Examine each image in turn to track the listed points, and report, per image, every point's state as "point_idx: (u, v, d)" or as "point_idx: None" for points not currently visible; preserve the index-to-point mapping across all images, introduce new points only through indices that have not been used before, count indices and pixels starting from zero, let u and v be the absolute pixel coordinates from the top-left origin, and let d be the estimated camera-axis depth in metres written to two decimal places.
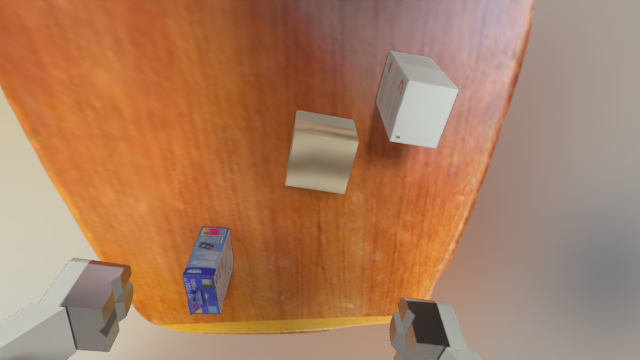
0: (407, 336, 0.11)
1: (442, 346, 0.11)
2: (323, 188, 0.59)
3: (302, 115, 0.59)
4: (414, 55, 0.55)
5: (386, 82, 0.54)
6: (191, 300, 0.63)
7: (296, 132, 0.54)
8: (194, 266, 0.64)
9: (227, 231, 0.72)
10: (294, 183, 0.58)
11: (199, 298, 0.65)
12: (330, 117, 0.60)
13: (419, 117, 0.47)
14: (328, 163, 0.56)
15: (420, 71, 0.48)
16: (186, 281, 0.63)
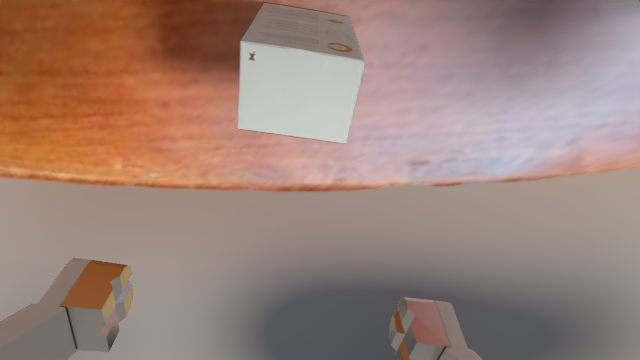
0: (407, 336, 0.11)
1: (442, 346, 0.11)
2: None
3: None
4: None
5: (312, 18, 0.32)
6: None
7: None
8: None
9: None
10: None
11: None
12: None
13: (295, 91, 0.26)
14: None
15: None
16: None
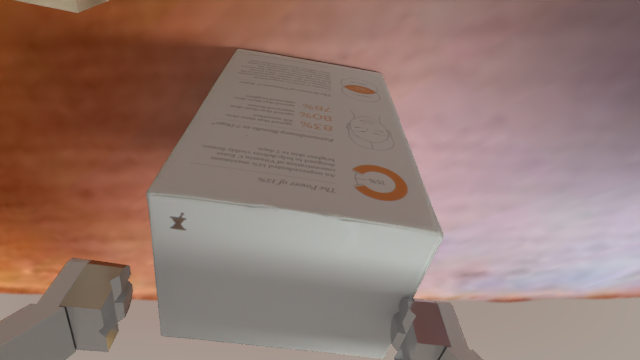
0: (408, 336, 0.11)
1: (443, 346, 0.11)
2: None
3: None
4: None
5: (318, 85, 0.18)
6: None
7: None
8: None
9: None
10: None
11: None
12: None
13: (281, 283, 0.12)
14: None
15: None
16: None
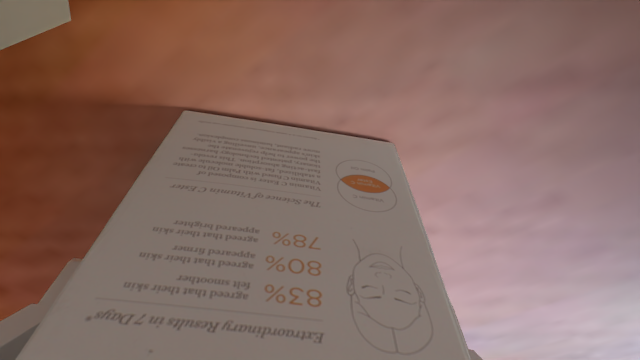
0: None
1: None
2: None
3: None
4: None
5: (301, 181, 0.11)
6: None
7: None
8: None
9: None
10: None
11: None
12: None
13: None
14: None
15: None
16: None
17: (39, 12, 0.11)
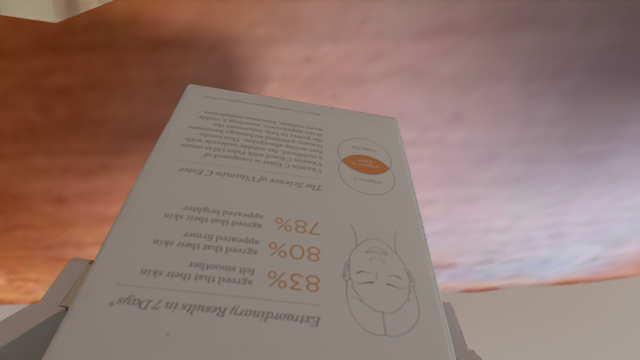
0: None
1: None
2: None
3: None
4: None
5: (303, 163, 0.12)
6: None
7: None
8: None
9: None
10: None
11: None
12: None
13: None
14: None
15: None
16: None
17: None
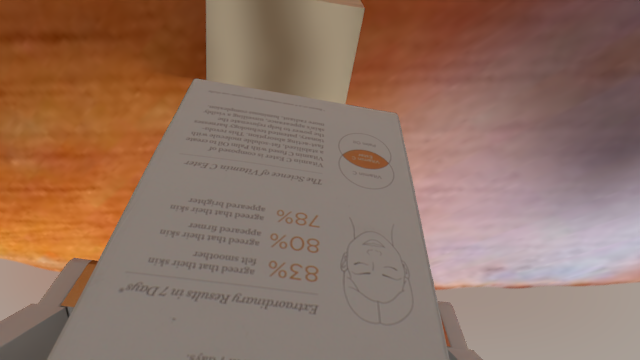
0: None
1: None
2: None
3: None
4: None
5: (305, 157, 0.12)
6: None
7: (361, 12, 0.23)
8: None
9: None
10: (215, 8, 0.22)
11: None
12: None
13: None
14: (283, 88, 0.25)
15: None
16: None
17: None
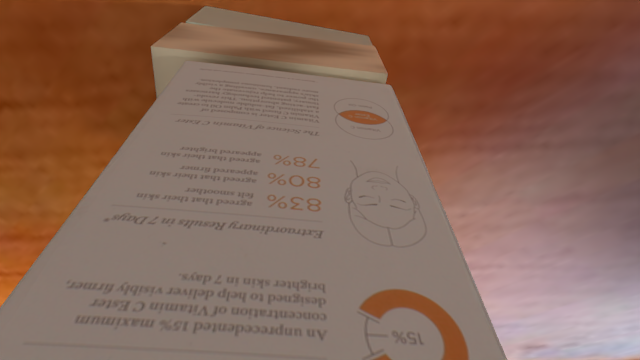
0: None
1: None
2: None
3: None
4: None
5: (300, 116, 0.12)
6: None
7: (383, 79, 0.15)
8: None
9: None
10: (168, 81, 0.15)
11: None
12: None
13: None
14: None
15: None
16: None
17: None
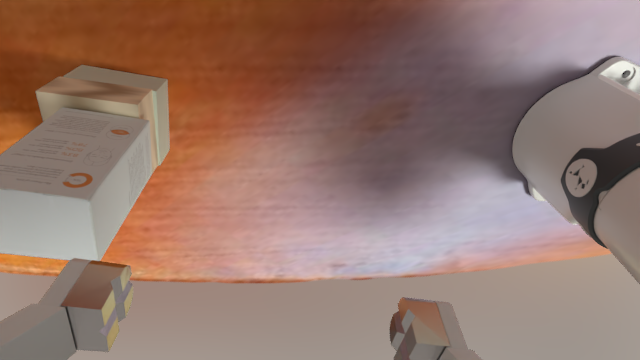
0: (408, 336, 0.11)
1: (442, 346, 0.11)
2: None
3: (162, 92, 0.42)
4: (149, 155, 0.38)
5: (93, 130, 0.34)
6: None
7: (136, 106, 0.37)
8: None
9: None
10: (44, 105, 0.36)
11: None
12: (166, 124, 0.45)
13: (30, 223, 0.27)
14: None
15: (118, 192, 0.32)
16: None
17: (165, 152, 0.46)
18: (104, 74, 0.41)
